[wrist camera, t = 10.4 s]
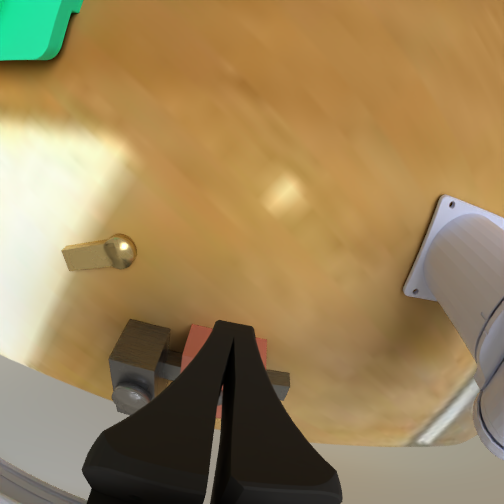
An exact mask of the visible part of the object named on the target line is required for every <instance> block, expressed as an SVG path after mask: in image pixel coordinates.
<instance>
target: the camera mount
mask: <svg viewBox="0 0 504 504" xmlns="http://www.w3.org/2000/svg"><path fill="white" fill-rule="evenodd" d="M82 2H83V0H0V61H2V60H50V59H52V58H54V57H55V56H56V55H57V54H58V53H59V51H60V49H61V47H62V43H63V39H64V36H65V32H66V29H67V25H68V22H69V19H70V15H71V13H79V11H80V8H81V5H82Z"/></svg>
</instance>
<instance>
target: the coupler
mask: <svg viewBox="0 0 504 504" xmlns="http://www.w3.org/2000/svg"><path fill="white" fill-rule="evenodd" d="M169 342H170V329H168V328H164V327H159V326H155V325H151V324H147V323H143V322H139V321H136V320H132V319H130V320H129V322H128V324H127V325H126V327H125V329H124V331H123V333H122V335H121V336H120V338H119V340H118V342H117V344H116V346H115V348H114V350H113V351H112V353H111V355H110V357H109V365H110V372H111V378H112V385H113V391H114V392H113V394H112V400H113V402H114V403H115V404H116V407H117V411H118V412H121V413H124V414H128V415H132V414H133V413H135V412H136V411H138V410H139V409H141V408H142V407H143V406H145V405H146V404H148V403H149V402H150V401H151V400H153V399H154V398H155V397H156V396H158V395H159V394H160V393H161V392H162V391H163V390H164V389H166V386H167V383H168V380H172V381H174V380H175V379H176V378H177V377H178V376H179V375H180V372H181V362H182V353H178V352H173V351H169ZM266 372H267V374H268V377H269V379H270V381H271V384H272V386H273V388H274V390H275V392H276V394H277V396H278V398H279V400H282V401H284V399H285V397H286V395H287V392H288V390H289V388H290V376H289V373H284V372H278V371H271V370H266Z"/></svg>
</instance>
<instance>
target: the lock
mask: <svg viewBox="0 0 504 504" xmlns="http://www.w3.org/2000/svg"><path fill="white" fill-rule="evenodd" d="M212 330H213V329H212V328H207V327H203V326H198V325H194V324H192V326H191V329H190V332H189V335H188V338H187V342H186V345H185V348H184V351H183V354H182V362H181V372H180V374H181V373H182V372H183V370H184V369H185V368H186V367H187V366H188V364H189V363H190V362H191V361H192V360H193V359H194V357H195V356H196V355H197V353H198V352H199V350H200V349H201V348H202V346H203V345H204V343H205V342H206V340H207V339H208V337H209V335H210V334H211V332H212ZM256 342H257V346H258V349H259V352H260V356H261V359H262V361H263V364H264V367H265V369H266V352H267V340H266V339H260V338H256ZM222 394H223V386H222V390H221V394H220V397H219V401H218V405H217V412H216V418H221V414H222Z"/></svg>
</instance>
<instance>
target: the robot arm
mask: <svg viewBox="0 0 504 504" xmlns="http://www.w3.org/2000/svg"><path fill="white" fill-rule="evenodd" d="M450 202H453V204H452V206H450V207H449V204H450ZM415 289H417V290H416V291H415V292H413V290H415ZM403 292H404V294H405V295H406V296H410V297H416V298H421V299H427V300H432V301H438V302H439V304H440V305H441V307H442V308H443V310H444V311H445V313H446V314H447V316H448V317H449V319H450V321H451V322H452V324H453V325H454V327H455V328H456V330H457V331H458V333H459V335H460V336H461V338H462V339H463V341H464V343H465V344H466V346H467V348H468V349H469V351H470V353H471V354H472V356H473V358H474V359H475V361H476V363H477V370H476V372H475V374H474V376H473V377H474V379H475V381H476V383H477V385H478V386H479V388H480V392H479V393H478V395H477V397H476V399H475V401H474V405H473V421H474V425H475V428H476V431H477V433H478V435H479V437H480V439H481V441H482V442H483V443H484V445H485V446H486V447H487V448H488V449H489V450H490V452H492V453H493V454H494V455H495V456H497V457H498V458H500V459H502V460H504V218H503V217H501V216H498V215H496V214H494V213H491V212H489V211H487V210H484V209H482V208H479V207H477V206H474V205H472V204H469V203H467V202H464V201H462V200H459V199H457V198H454V197H452V196H449V195H442V196H441V197H440V199H439V201H438V204H437V207H436V210H435V212H434V215H433V218H432V221H431V223H430V226H429V228H428V231H427V234H426V236H425V239H424V241H423V244H422V246H421V248H420V251H419V253H418V256H417V258H416V260H415V263H414V265H413V267H412V269H411V272H410V274H409V276H408V278H407V281H406V283H405V285H404V287H403ZM222 386H223V394H222V414H221V435H220V444H219V451H218V458H217V464H216V470H215V477H214V483H213V489H212V495H211V502H210V504H340V503H341V502H342V490H341V485H340V481H339V478H338V475H337V471H336V470H335V469H334V468H333V467H332V466H331V465H330V464H329V463H328V462H326V461H325V460H324V459H323V458H322V457H321V456H320V454H318V452H317V451H316V450H315V449H314V448H313V447H312V446H311V444H310V443H309V442H308V441H307V440H306V438H305V437H304V436H303V434H302V433H301V432H300V430H299V429H298V428H297V426H296V425H295V424H294V422H293V421H292V419H291V418H290V416H289V415H288V413H287V412H286V410H285V408H284V407H283V405H282V403H281V401H280V400H279V398H278V396H277V394H276V392H275V390H274V388H273V386H272V384H271V381H270V379H269V377H268V374H267V372H266V369H265V367H264V364H263V361H262V359H261V356H260V352H259V349H258V346H257V342H256V337H255V332H254V328H253V327H252V326H247V325H242V324H237V323H232V322H227V321H222V320H218V321H216V322H215V325H214V328H213V330H212V332H211V334H210V335H209V337H208V339H207V340H206V342H205V343H204V345H203V346H202V348H201V349H200V350H199V352H198V353H197V355H196V356H195V357H194V359H193V360H192V361H191V362H190V363H189V364H188V366H187V367H186V368H185V369H184V370H183V372H182V373H181V374H180V375H179V376H178V377H177V378H176V379H175V380H174V381H173V382H172V383H171V384H170V385H169V386H168V387H167V388H166V389H164V390H163V391H162V392H161V393H160V394H159V395H158V396H156V397H155V398H154V399H153V400H151V401H150V402H149V403H148V404H146V405H145V406H143V407H142V408H141V409H139V410H138V411H136V412H135V413H133V414H132V415H130V416H129V417H127V418H126V419H124V420H122V421H121V422H119V423H117V424H115V425H113V426H112V427H110V428H108V429H106V430H104V431H103V432H102V433H101V434H100V436H99V437H98V438H97V439H96V441H95V442H94V444H93V445H92V447H91V449H90V451H89V452H88V454H87V457H86V460H85V463H84V465H83V468H82V472H83V475H84V476H85V478H86V480H87V481H88V483H89V484H90V486H91V488H92V489H91V493H90V495H89V498H88V501H87V500H85V499H82V498H80V497H77V496H75V495H72V494H70V493H68V492H66V491H63V490H61V489H59V488H57V487H54V486H52V485H50V484H48V483H46V482H44V481H42V480H40V479H38V478H36V477H34V476H32V475H30V474H28V473H26V472H24V471H23V470H21V469H19V468H17V467H15V466H14V465H12V464H10V463H8V462H6V461H5V460H3V459H1V458H0V504H203V502H204V498H205V495H206V488H207V482H208V475H209V465H210V458H211V449H212V441H213V433H214V426H215V419H216V412H217V405H218V401H219V397H220V394H221V390H222Z"/></svg>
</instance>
